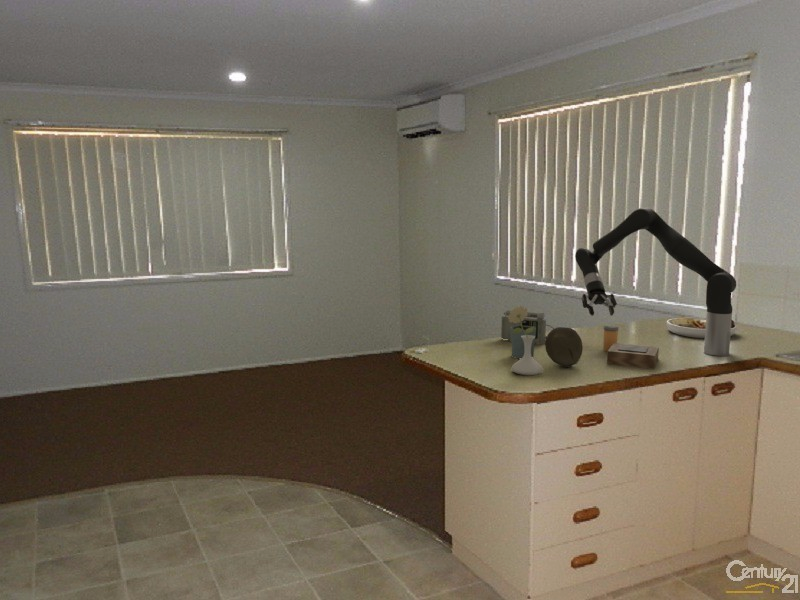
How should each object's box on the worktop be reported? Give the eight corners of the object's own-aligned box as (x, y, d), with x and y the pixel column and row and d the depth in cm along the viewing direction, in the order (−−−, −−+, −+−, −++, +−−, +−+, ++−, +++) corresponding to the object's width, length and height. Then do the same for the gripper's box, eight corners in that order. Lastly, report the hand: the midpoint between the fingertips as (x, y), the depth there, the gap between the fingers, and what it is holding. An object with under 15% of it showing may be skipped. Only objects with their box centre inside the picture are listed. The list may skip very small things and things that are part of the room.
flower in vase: (538, 369, 234) (540, 303, 230) (546, 377, 223) (549, 308, 219) (503, 369, 234) (505, 303, 230) (510, 378, 222) (511, 308, 219)
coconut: (586, 364, 241) (587, 326, 239) (576, 372, 229) (578, 332, 227) (550, 359, 248) (551, 322, 246) (538, 367, 236) (540, 328, 234)
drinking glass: (516, 360, 248) (517, 330, 246) (505, 354, 257) (506, 325, 256) (539, 358, 250) (540, 329, 249) (527, 352, 260) (528, 324, 258)
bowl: (669, 338, 289) (670, 321, 288) (663, 326, 318) (664, 310, 316) (742, 342, 281) (743, 324, 279) (728, 329, 309) (730, 313, 308)
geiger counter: (500, 310, 282) (556, 314, 270) (504, 308, 287) (559, 312, 276) (499, 340, 284) (554, 346, 272) (504, 337, 289) (558, 343, 278)
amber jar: (618, 349, 266) (619, 326, 264) (616, 352, 261) (617, 328, 259) (603, 348, 268) (605, 325, 267) (601, 350, 263) (602, 327, 262)
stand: (658, 359, 249) (658, 346, 248) (654, 368, 234) (655, 354, 234) (613, 354, 256) (613, 341, 255) (607, 363, 242) (607, 350, 241)
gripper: (580, 280, 279) (588, 309, 269) (612, 279, 279) (621, 309, 270) (576, 290, 285) (584, 319, 275) (607, 289, 285) (615, 319, 276)
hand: (602, 314), depth 272 cm, fingers open, 8 cm apart
